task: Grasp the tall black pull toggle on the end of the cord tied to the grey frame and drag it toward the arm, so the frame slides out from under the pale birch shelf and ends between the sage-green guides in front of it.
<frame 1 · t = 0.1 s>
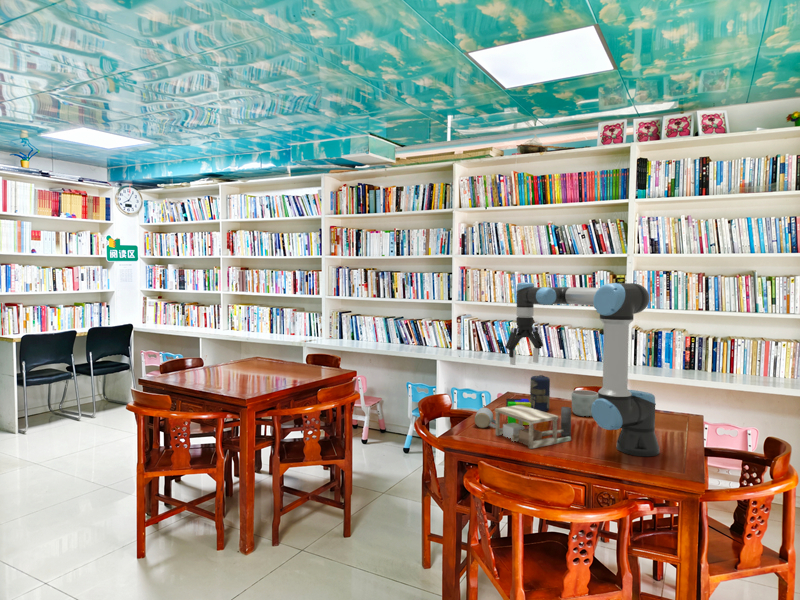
hand: (524, 363, 241), 28 cm above the table, tool pointing down, fingers open, 13 cm apart
lane shelf: (525, 439, 220), on the table
planter: (584, 415, 260), on the table
puzzle toy: (518, 423, 245), on the table
canister: (539, 410, 268), on the table
ceramic mug: (486, 427, 239), on the table
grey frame: (530, 443, 214), on the table
grey block: (513, 437, 223), on the table
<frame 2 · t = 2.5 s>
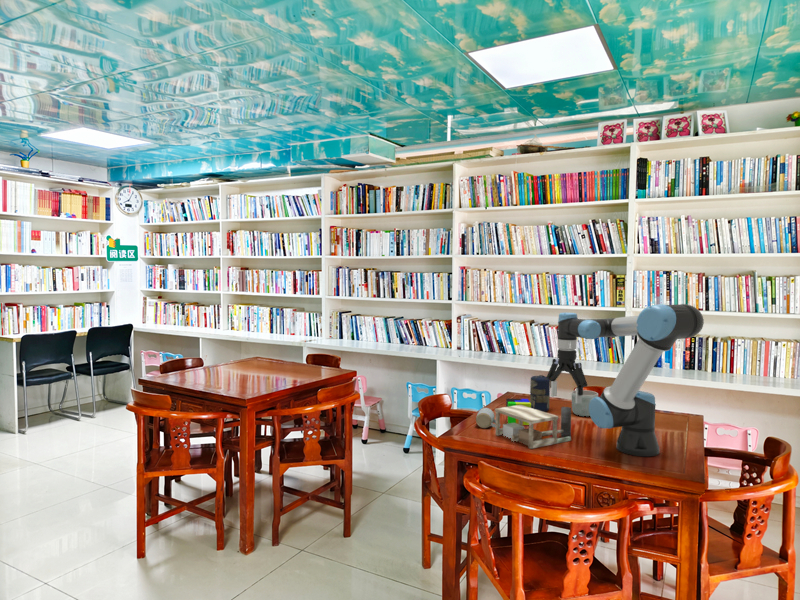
hand: (565, 399, 224), 15 cm above the table, tool pointing down, fingers open, 13 cm apart
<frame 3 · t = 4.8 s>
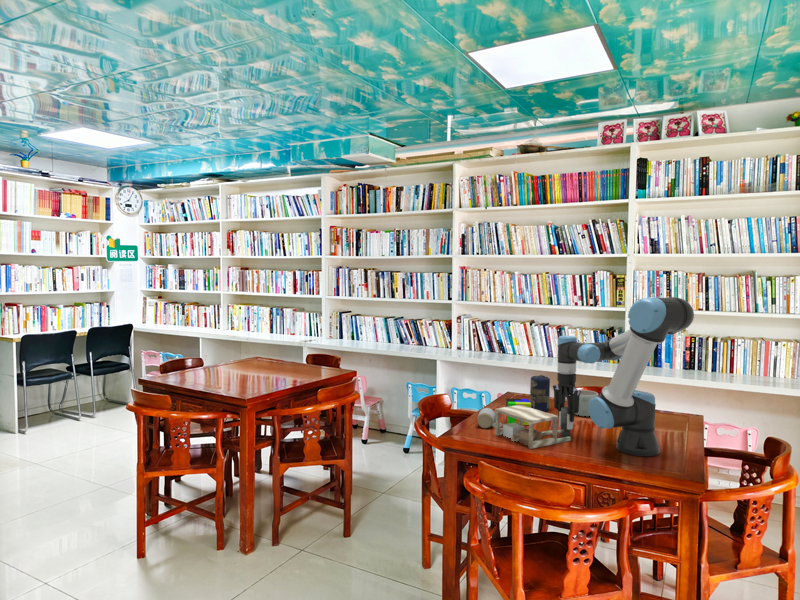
hand: (565, 427, 224), 4 cm above the table, tool pointing down, fingers closed on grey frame, 4 cm apart
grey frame: (530, 443, 214), on the table, touching gripper
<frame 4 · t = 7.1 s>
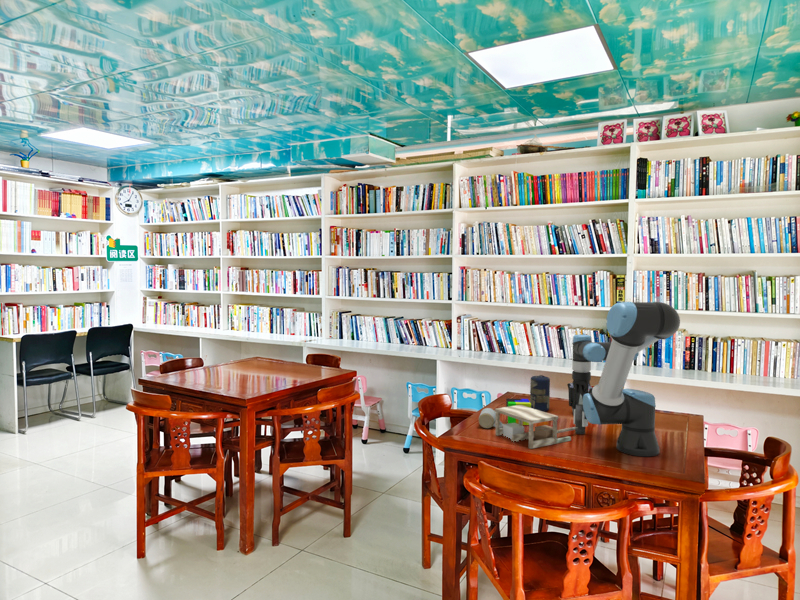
hand: (580, 424, 228), 4 cm above the table, tool pointing down, fingers closed on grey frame, 4 cm apart
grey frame: (545, 439, 219), on the table, touching gripper
when the fingers open (4 cm above the table, at t = 9.8 s): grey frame stays where it is, on the table.
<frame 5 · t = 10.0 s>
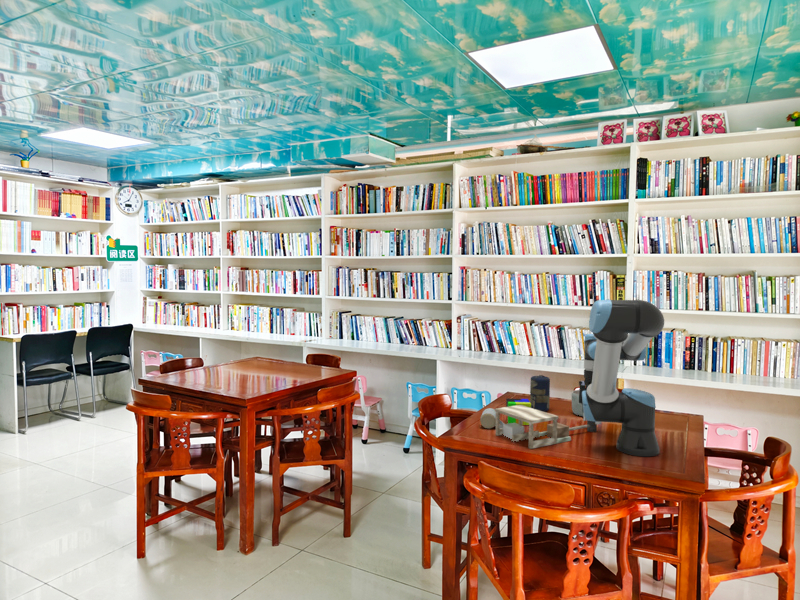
hand: (592, 422, 232), 4 cm above the table, tool pointing down, fingers open, 6 cm apart
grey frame: (557, 437, 222), on the table
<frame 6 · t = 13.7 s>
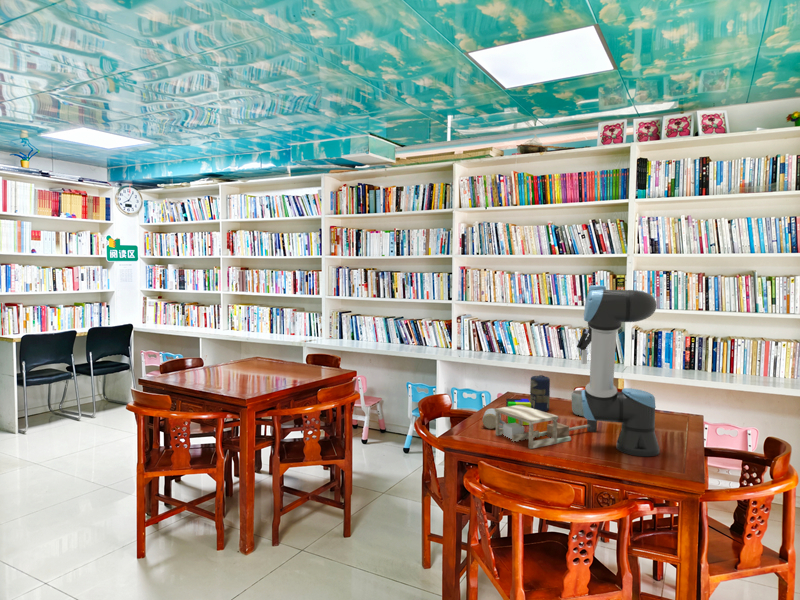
hand: (595, 365, 242), 27 cm above the table, tool pointing down, fingers open, 13 cm apart
at the end: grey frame inside the target area (0.8 cm from its centre), on the table; the gripper is holding nothing; grey block moved 0.2 cm from its start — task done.
